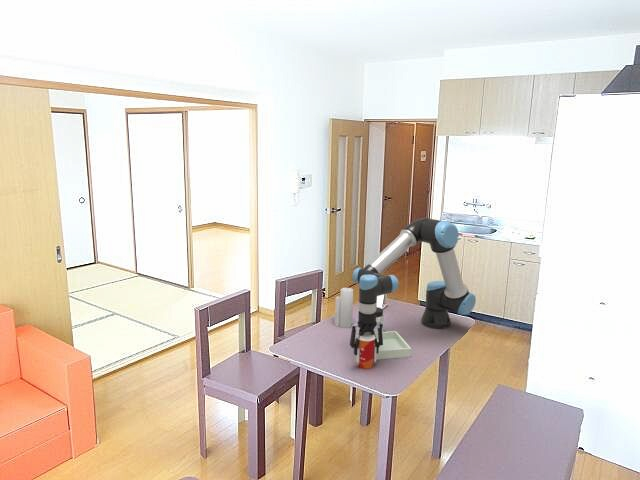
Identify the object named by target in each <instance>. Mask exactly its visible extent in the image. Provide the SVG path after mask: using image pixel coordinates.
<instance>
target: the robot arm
mask: <svg viewBox="0 0 640 480" xmlns="http://www.w3.org/2000/svg"><path fill="white" fill-rule="evenodd" d="M459 235H460V234H459V230H458V227H457V226H456V225H455V224H454V223H452V222H449V221H446V220H441V219H439V220H438V219H434V218H428V217H422V218H421V217H420V218H419V219H415V220H414V221H412V222H409V224H407V225H406V226H405V227H404V228H403V229H401V230H400V233H399V235H397V237H396V238H394V239H393V241H391V243H389V244H388V245H387V246H386V247H385V248H384V249H383V250H381V252H380V253H378V254H377V255H376V256H375V257H374V258H373V259H372V260H371V261H370V262H369V263H368V264H366V266H364V267H357V268H355V269H354V270H353V272H352V276H351V278H352V280H353V282H354V283H355V284H357V285H358V316H357V317H358V320H357V323H355V324H354V323H352V325H351V327H350V328H351V332H350V338H349V339H350V340H349V346H350V347H351V349H353V354H354V356H355V361H356V363H357V364H359V348H358V346H359V344H360V342H359V339H358V338H360V336H363V335H364V333H366V332H371V334H372V335H375V332H374V328H375V327H376V325H377V327H378V340H379V342H378V341H377V338H375V345H374V354H373V363H374V362H375V363H376V362H377V360H376V354H377V353H378V350H379V347H380V345H383V337H382V327H383V328H384V323H383V324H382V323H381V322H379V323H377V322H376V307H377V306H378V304H377V302H378V301H377V300H378V297H379V296H383V295H388V294H392V293H394V292H396V291H397V290H399V289H398V288H399V279H398V277H396V275H394V274H387V275H383V273H385V272H386V270H387V269H388V268H389V267H391V266H392V265H393V264H394V263H395V262H396V261H397V260H398V259H399V258H400V257H401V256H402V255H404V253H406V252H407V251H408V249H410V247H414V246H416V245H417V244H418V243H426V244H429V246H430V249H431V252H433V253H434V254H435V255H436V258H437V263H438V265H439V268H440V271H441V276H442V279H443V280H435V281H430V282H428V283H427V285H426V289H425V292H426V294H425V307H424V311H423V314H422V316H421V319H420V320H421V325H423V326H424V327H427V328H429V329H431V328H432V329H439V330H441V329H446V328H449V327H450V326H451V318H450V314H449V311H450V312H452V313H456V314H457V315H462V316H467V315H469V314H471V312H472V310H473V309H474V307H475V305H476V299H477V298H476V295H475V294H474V293H472V292H470V291H469V287H468V285H466V284H465V283H464V282H463V281H464V280H463V278H462V273H461V271H460V266H459V263H458V259H457V256H456V252H455V247H456V246H457V244H458V241H459ZM357 329H359V330H358V332H357ZM357 334H359V337H358V338H357V337H356V336H357ZM375 337H376V336H375Z"/></svg>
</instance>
